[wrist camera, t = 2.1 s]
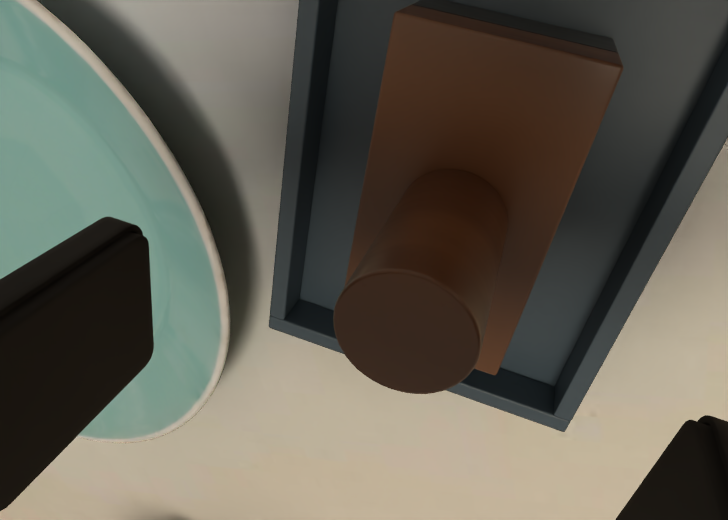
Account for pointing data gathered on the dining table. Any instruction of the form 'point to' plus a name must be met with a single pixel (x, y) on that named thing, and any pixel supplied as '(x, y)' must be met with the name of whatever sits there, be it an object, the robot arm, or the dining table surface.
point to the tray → (582, 214)
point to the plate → (108, 210)
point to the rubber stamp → (465, 187)
